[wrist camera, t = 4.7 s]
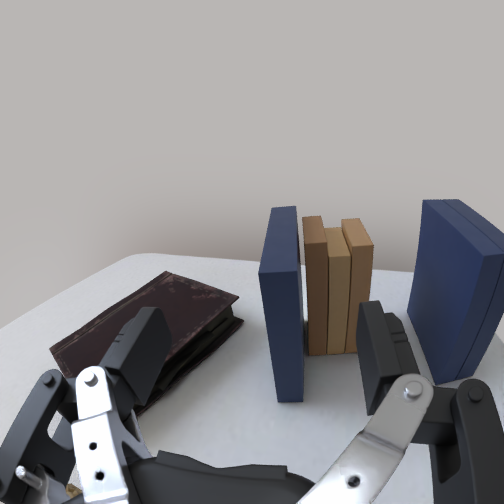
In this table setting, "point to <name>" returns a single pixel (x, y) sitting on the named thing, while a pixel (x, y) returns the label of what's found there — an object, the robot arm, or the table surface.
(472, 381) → the robot arm
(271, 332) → the navy book
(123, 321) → the diary
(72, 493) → the sponge
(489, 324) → the navy book pair
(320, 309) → the tan books
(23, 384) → the table surface
